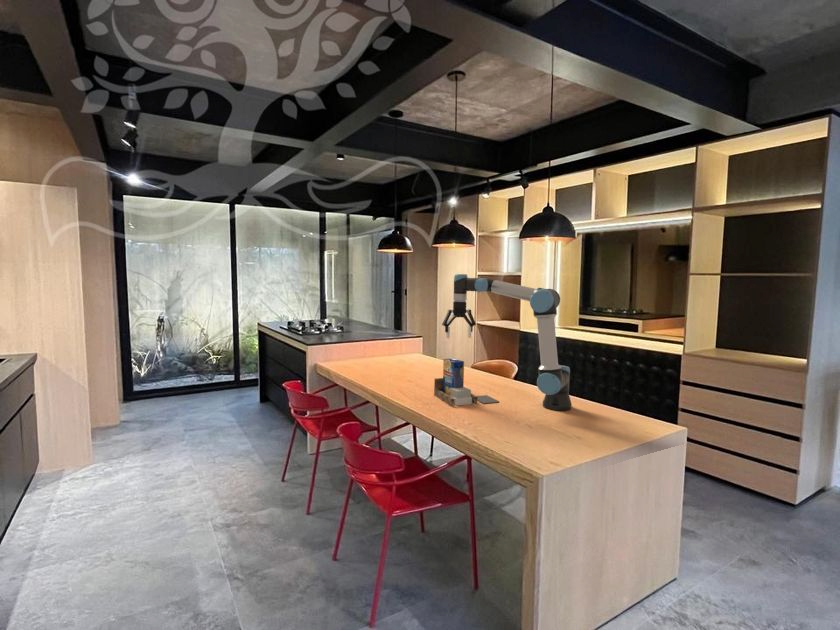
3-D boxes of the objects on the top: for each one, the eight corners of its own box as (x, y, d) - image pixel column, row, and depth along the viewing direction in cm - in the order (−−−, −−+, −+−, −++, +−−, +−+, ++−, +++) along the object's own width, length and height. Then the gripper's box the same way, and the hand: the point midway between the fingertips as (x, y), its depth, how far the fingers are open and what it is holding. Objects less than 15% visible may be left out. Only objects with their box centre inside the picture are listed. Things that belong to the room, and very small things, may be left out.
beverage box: (452, 394, 269) (453, 358, 267) (463, 399, 260) (464, 361, 258) (442, 396, 266) (443, 359, 264) (453, 401, 256) (454, 362, 254)
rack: (477, 403, 252) (477, 386, 251) (451, 406, 246) (451, 388, 245) (458, 393, 274) (459, 376, 273) (434, 395, 268) (434, 378, 267)
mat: (499, 402, 255) (499, 401, 255) (483, 404, 252) (483, 402, 251) (486, 396, 268) (486, 395, 268) (471, 397, 264) (471, 396, 264)
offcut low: (471, 404, 252) (471, 397, 251) (455, 406, 248) (455, 398, 248) (465, 401, 258) (466, 394, 258) (449, 402, 255) (450, 395, 254)
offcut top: (470, 396, 252) (470, 389, 252) (457, 398, 248) (457, 391, 248) (464, 394, 258) (464, 387, 257) (451, 396, 253) (451, 389, 253)
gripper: (476, 300, 269) (475, 336, 271) (437, 300, 260) (436, 337, 262) (482, 301, 262) (481, 338, 264) (442, 301, 253) (441, 339, 255)
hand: (458, 337), depth 263 cm, fingers open, 13 cm apart
